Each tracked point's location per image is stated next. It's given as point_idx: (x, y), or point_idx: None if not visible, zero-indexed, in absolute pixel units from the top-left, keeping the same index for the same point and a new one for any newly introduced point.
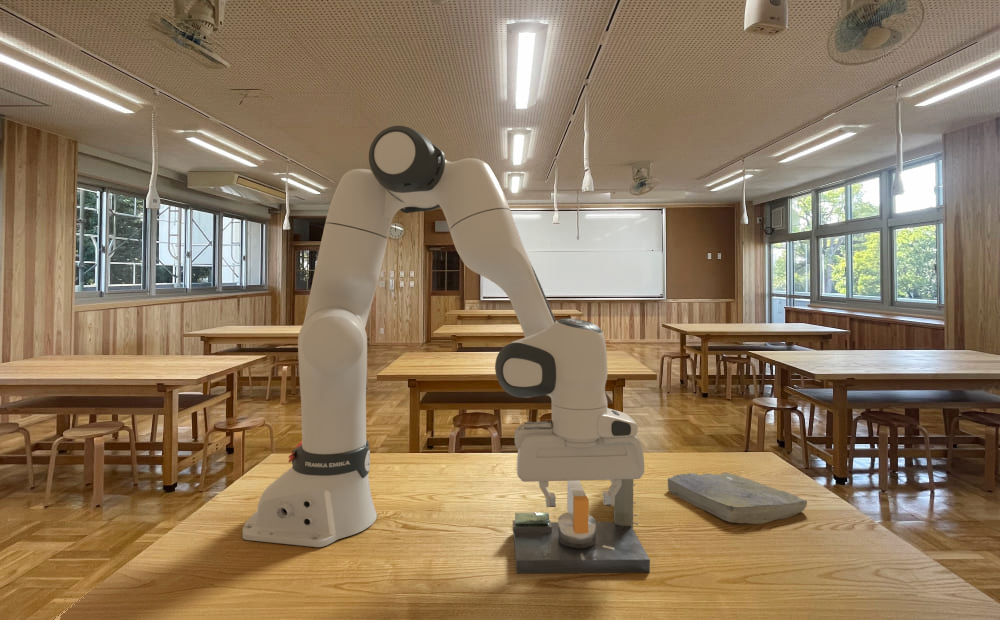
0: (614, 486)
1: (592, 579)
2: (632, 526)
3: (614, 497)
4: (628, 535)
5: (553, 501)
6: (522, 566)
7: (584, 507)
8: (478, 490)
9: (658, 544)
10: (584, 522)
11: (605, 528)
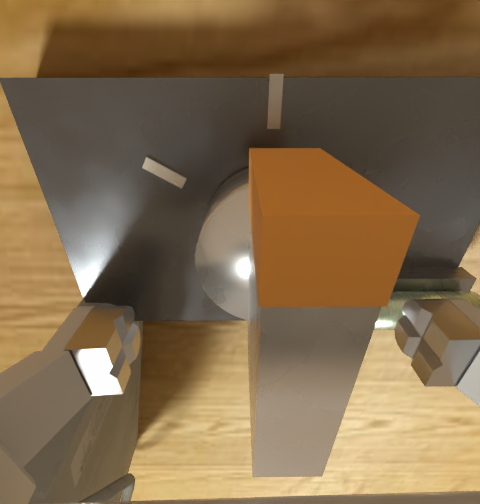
0: (1, 423)
1: (245, 30)
2: (81, 301)
3: (49, 341)
4: (91, 251)
5: (444, 319)
6: None
7: (295, 189)
8: (418, 439)
9: (21, 247)
10: (275, 161)
11: (164, 289)
